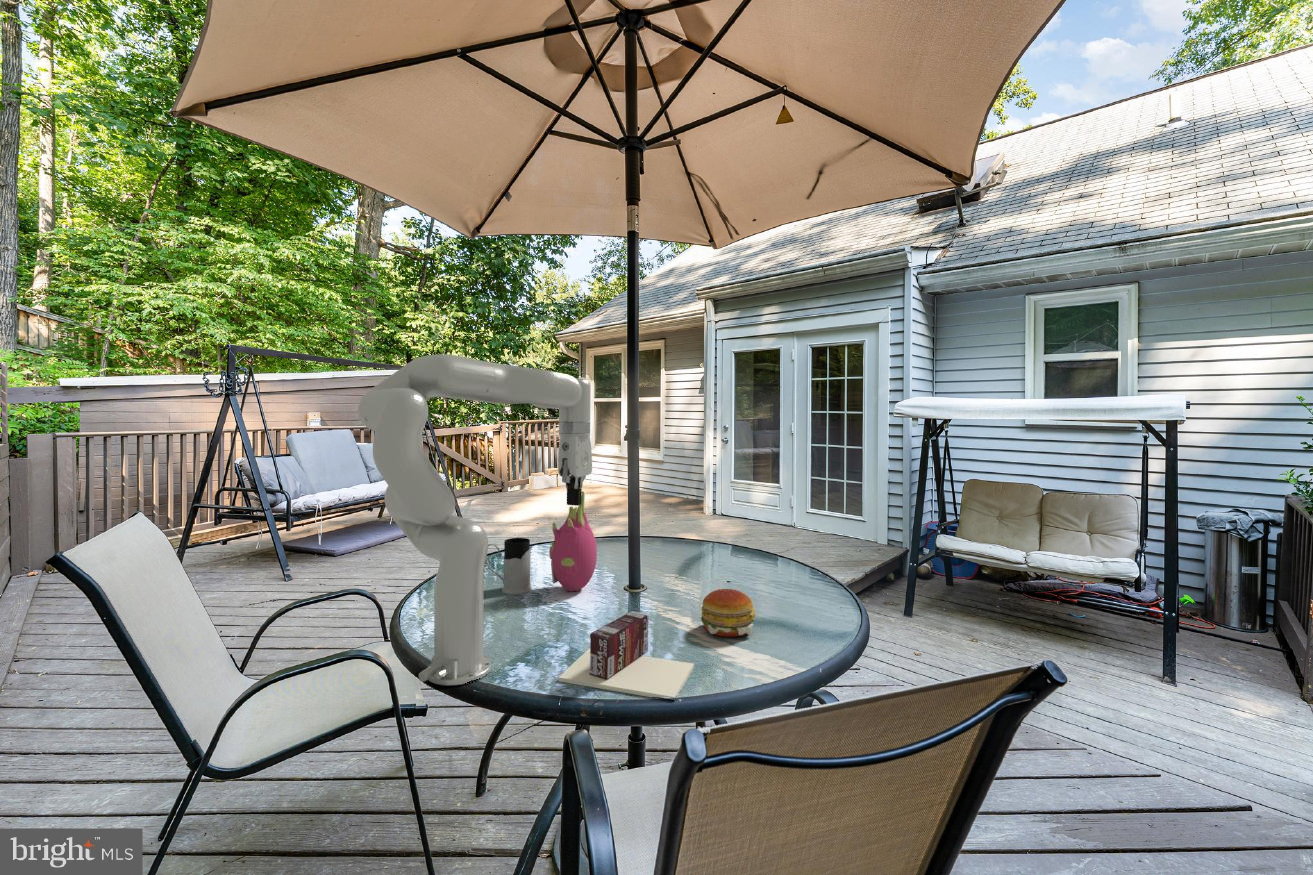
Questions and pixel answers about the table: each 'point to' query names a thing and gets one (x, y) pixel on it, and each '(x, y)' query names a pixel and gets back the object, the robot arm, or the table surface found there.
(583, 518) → the pink dragon fruit
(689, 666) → the placemat
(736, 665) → the table surface
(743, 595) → the burger
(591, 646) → the supplement box
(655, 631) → the table surface
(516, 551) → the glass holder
